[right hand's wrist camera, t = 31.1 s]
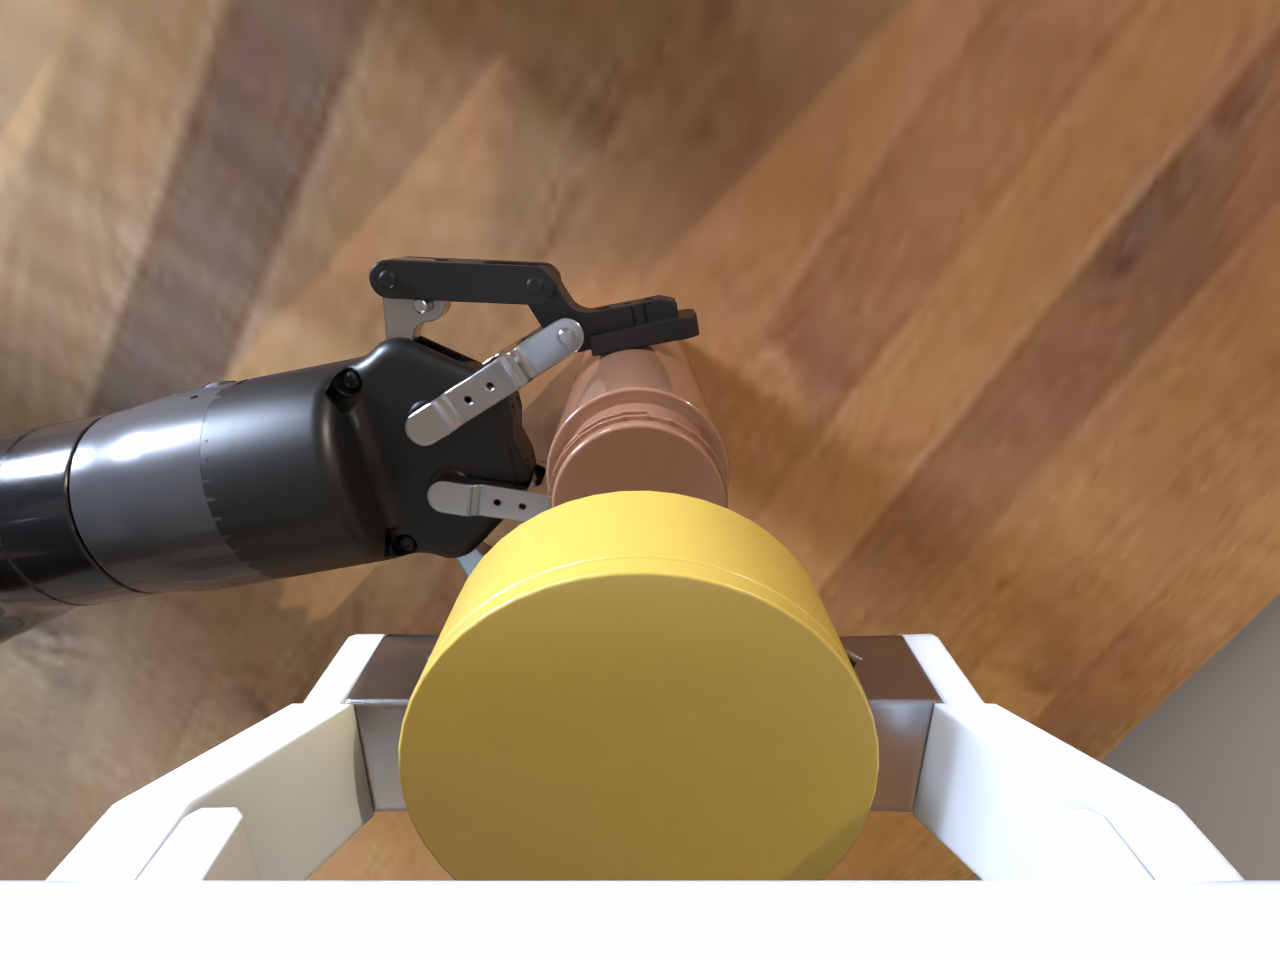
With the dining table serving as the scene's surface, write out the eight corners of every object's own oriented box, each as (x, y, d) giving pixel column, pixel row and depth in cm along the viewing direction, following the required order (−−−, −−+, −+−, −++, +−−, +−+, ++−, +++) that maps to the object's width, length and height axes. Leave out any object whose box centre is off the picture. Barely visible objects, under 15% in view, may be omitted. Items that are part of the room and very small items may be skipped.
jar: (576, 321, 31) (526, 412, 16) (688, 316, 31) (742, 404, 16) (583, 429, 32) (544, 602, 18) (690, 424, 32) (740, 594, 18)
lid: (689, 856, 12) (699, 1001, 10) (384, 710, 11) (319, 836, 9) (909, 615, 10) (983, 726, 8) (572, 410, 9) (551, 473, 7)
